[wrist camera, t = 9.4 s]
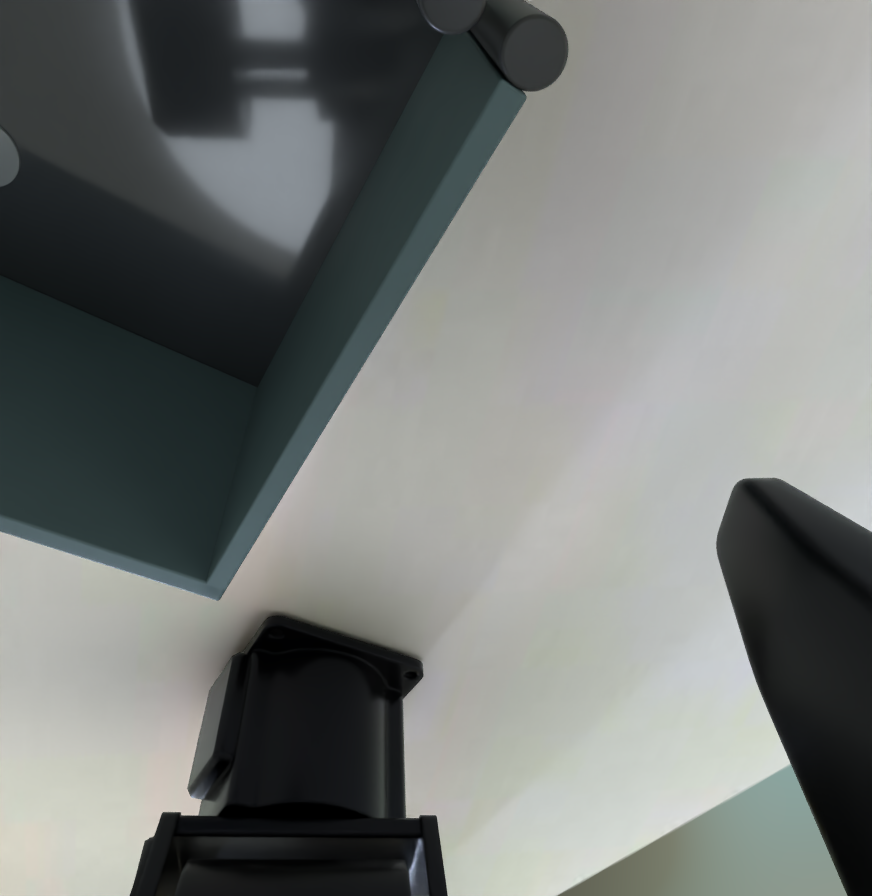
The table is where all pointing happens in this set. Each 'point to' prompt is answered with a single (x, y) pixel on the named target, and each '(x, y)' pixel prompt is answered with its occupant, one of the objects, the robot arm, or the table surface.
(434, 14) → the door panel with handle
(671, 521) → the table surface
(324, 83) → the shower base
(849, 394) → the table surface
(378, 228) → the hinged door cabinet
